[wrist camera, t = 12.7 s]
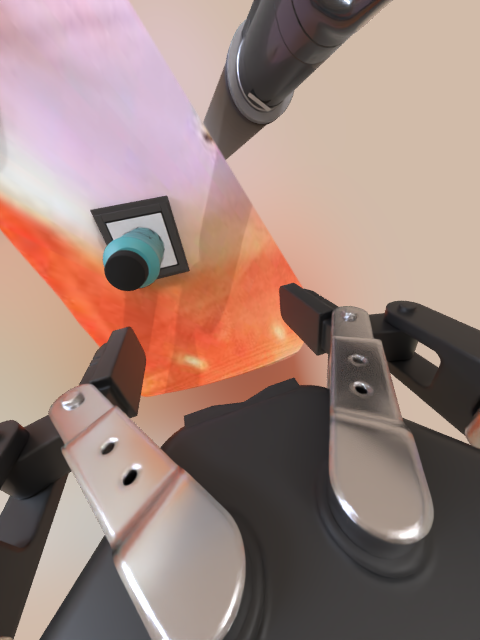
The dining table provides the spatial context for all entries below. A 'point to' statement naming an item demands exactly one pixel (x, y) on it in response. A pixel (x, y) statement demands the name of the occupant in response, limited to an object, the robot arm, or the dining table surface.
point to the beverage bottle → (134, 259)
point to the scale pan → (150, 222)
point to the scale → (139, 210)
